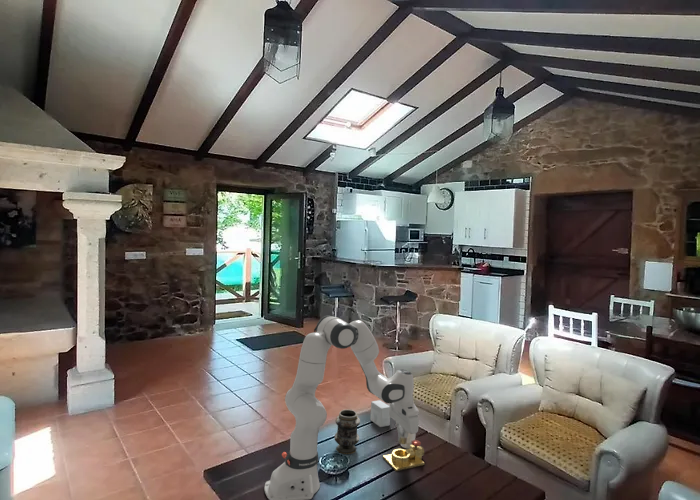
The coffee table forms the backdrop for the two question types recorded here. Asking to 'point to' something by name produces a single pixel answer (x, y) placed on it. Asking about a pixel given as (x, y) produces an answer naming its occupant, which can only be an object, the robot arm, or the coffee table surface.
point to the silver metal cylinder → (401, 435)
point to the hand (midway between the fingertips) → (402, 434)
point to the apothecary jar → (347, 431)
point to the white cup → (409, 440)
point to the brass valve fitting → (406, 457)
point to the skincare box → (380, 413)
